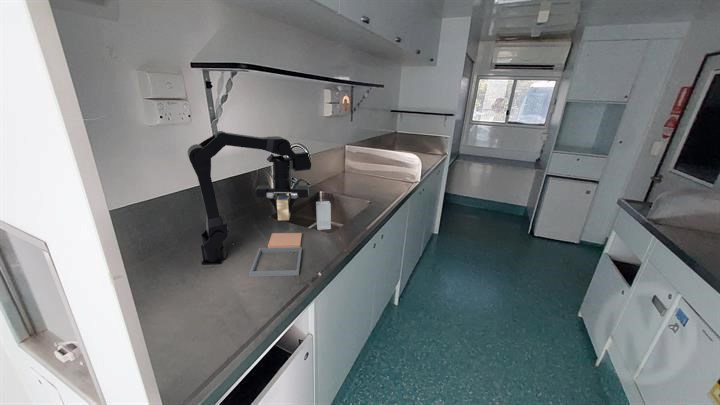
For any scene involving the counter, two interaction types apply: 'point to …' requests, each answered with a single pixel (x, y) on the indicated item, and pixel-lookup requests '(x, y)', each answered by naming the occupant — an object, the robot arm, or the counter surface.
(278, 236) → the terracotta tile
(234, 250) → the counter surface
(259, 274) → the grey picture frame
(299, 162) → the robot arm
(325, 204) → the skincare box
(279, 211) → the birch label block
